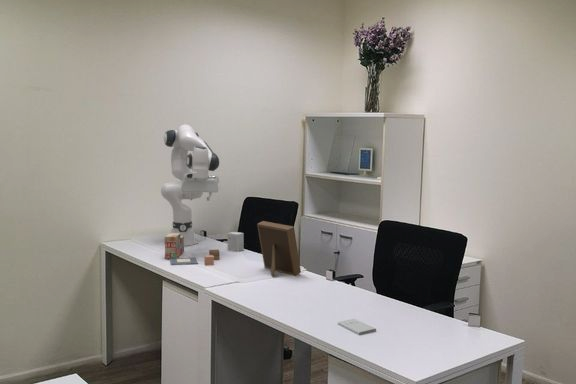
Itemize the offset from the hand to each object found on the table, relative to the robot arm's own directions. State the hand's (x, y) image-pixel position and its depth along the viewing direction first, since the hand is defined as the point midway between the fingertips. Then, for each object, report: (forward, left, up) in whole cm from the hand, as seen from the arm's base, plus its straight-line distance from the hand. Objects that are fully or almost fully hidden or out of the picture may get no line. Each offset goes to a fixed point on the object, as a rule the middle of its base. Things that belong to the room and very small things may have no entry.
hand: (199, 200), depth 307 cm
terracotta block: (+16, +4, -32) cm, 36 cm away
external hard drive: (+122, +47, -33) cm, 135 cm away
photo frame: (+39, +35, -33) cm, 62 cm away
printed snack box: (-8, -13, -32) cm, 36 cm away
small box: (-16, +23, -33) cm, 43 cm away
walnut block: (+5, +8, -32) cm, 34 cm away
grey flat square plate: (+8, -9, -32) cm, 35 cm away
